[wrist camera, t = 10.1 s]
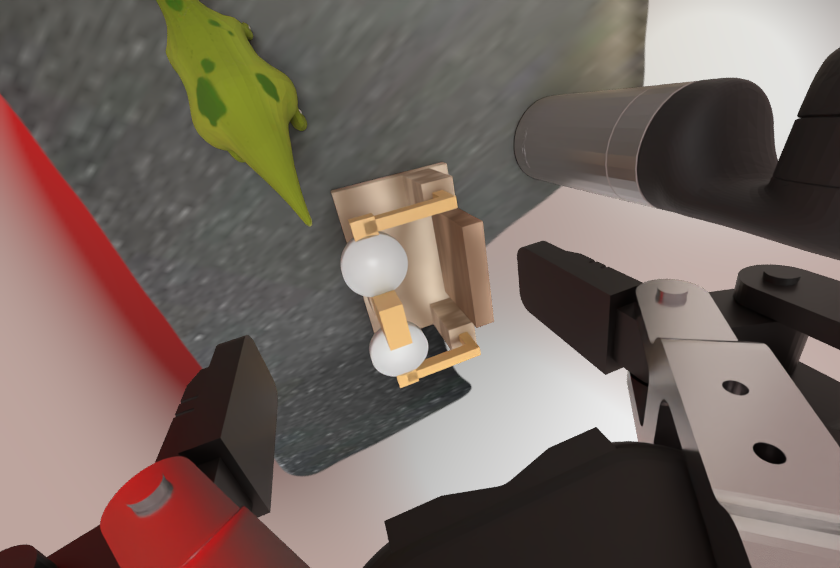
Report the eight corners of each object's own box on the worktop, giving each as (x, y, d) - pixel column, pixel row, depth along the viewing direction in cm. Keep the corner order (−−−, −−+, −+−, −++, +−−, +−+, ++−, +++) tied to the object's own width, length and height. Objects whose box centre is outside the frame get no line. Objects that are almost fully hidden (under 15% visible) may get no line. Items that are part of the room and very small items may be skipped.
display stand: (441, 162, 40) (484, 174, 30) (464, 306, 48) (503, 349, 39) (330, 190, 37) (341, 213, 28) (375, 336, 46) (394, 390, 37)
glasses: (441, 186, 32) (469, 199, 27) (468, 340, 40) (493, 373, 35) (324, 219, 30) (330, 240, 25) (377, 374, 39) (389, 414, 33)
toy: (255, 23, 34) (141, -194, 19) (369, 219, 34) (345, 158, 19) (175, 64, 33) (-9, -127, 18) (290, 264, 33) (201, 236, 18)
